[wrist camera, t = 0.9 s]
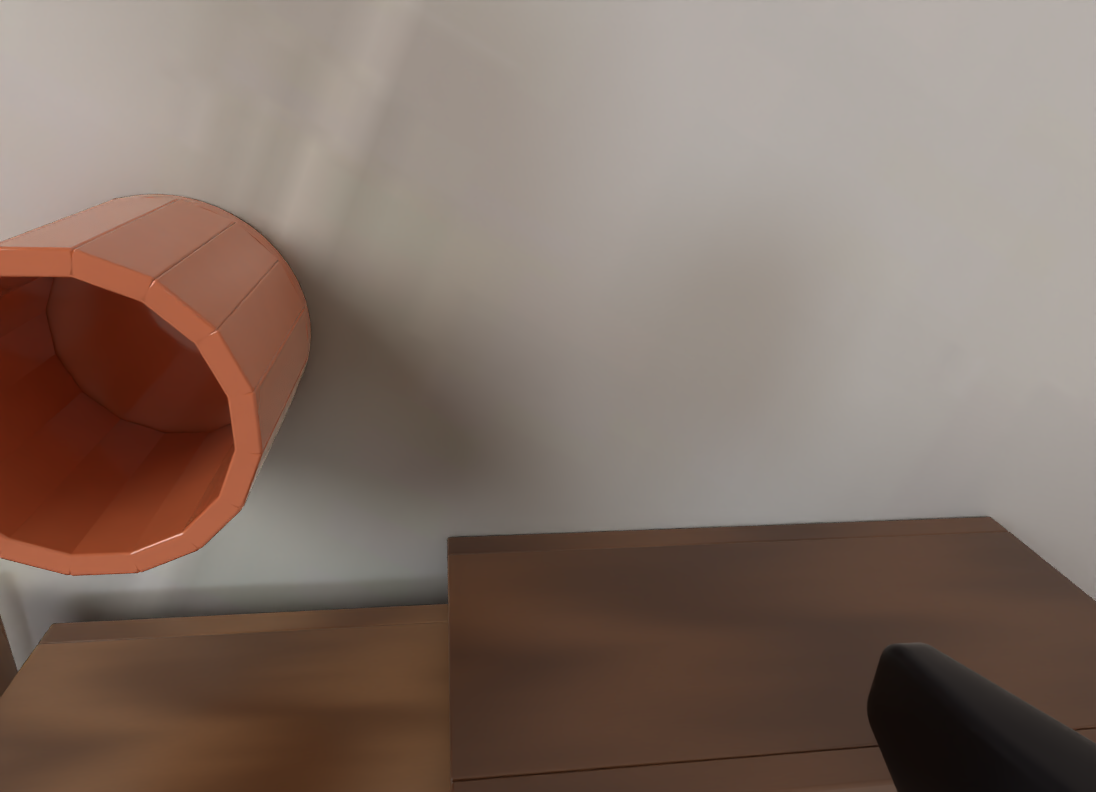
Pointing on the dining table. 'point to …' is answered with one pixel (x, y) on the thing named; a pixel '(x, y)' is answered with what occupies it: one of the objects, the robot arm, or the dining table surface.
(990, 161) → the dining table surface
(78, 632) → the drawer
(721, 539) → the cabinet
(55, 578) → the dining table surface
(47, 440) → the cup
